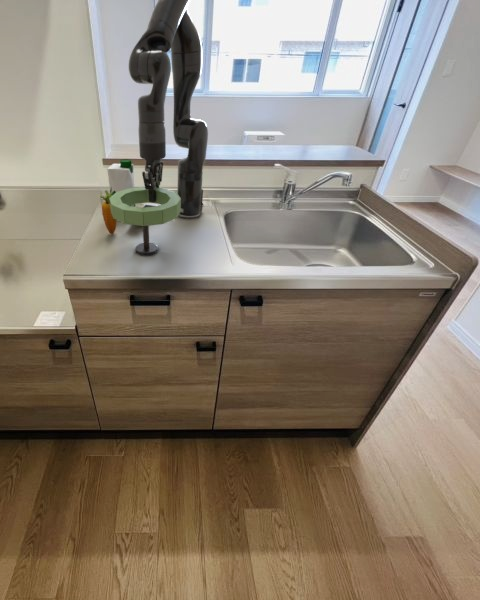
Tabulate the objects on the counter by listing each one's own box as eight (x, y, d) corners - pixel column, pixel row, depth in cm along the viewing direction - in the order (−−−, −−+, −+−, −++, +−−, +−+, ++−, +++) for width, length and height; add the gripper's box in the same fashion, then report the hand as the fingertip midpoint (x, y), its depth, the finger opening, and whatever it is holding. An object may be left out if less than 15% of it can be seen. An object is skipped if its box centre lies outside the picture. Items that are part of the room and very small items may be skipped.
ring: (148, 195, 105) (147, 182, 102) (193, 211, 94) (194, 198, 91) (98, 211, 93) (96, 198, 91) (142, 232, 82) (141, 217, 80)
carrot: (116, 238, 107) (111, 194, 98) (102, 237, 108) (96, 193, 99) (121, 232, 111) (117, 189, 102) (108, 231, 112) (102, 188, 103)
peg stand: (147, 243, 105) (146, 215, 99) (162, 250, 101) (161, 222, 95) (131, 250, 101) (129, 222, 95) (145, 257, 97) (144, 229, 91)
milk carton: (132, 218, 121) (129, 163, 109) (110, 217, 122) (103, 162, 110) (138, 210, 128) (135, 158, 116) (116, 209, 129) (111, 156, 117)
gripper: (157, 145, 83) (159, 208, 93) (171, 135, 94) (171, 193, 104) (131, 143, 84) (135, 206, 95) (147, 134, 95) (149, 191, 106)
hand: (154, 199), depth 100 cm, fingers closed on ring, 3 cm apart
